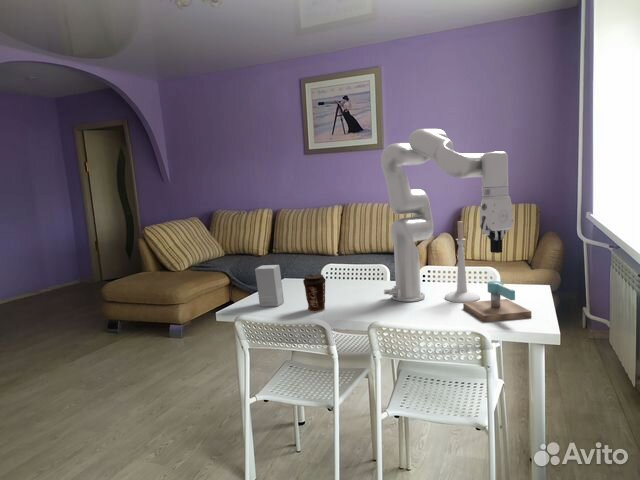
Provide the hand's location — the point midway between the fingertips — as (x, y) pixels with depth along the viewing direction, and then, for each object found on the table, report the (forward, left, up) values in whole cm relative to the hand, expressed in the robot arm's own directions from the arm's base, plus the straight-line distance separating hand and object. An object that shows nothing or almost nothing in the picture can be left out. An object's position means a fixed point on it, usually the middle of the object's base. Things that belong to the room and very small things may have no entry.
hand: (496, 252), depth 143 cm
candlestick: (+1, +31, -23) cm, 39 cm away
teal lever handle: (+4, +6, -15) cm, 17 cm away
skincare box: (-72, +46, -23) cm, 88 cm away
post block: (+4, +10, -23) cm, 25 cm away
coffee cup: (-55, +33, -23) cm, 68 cm away
